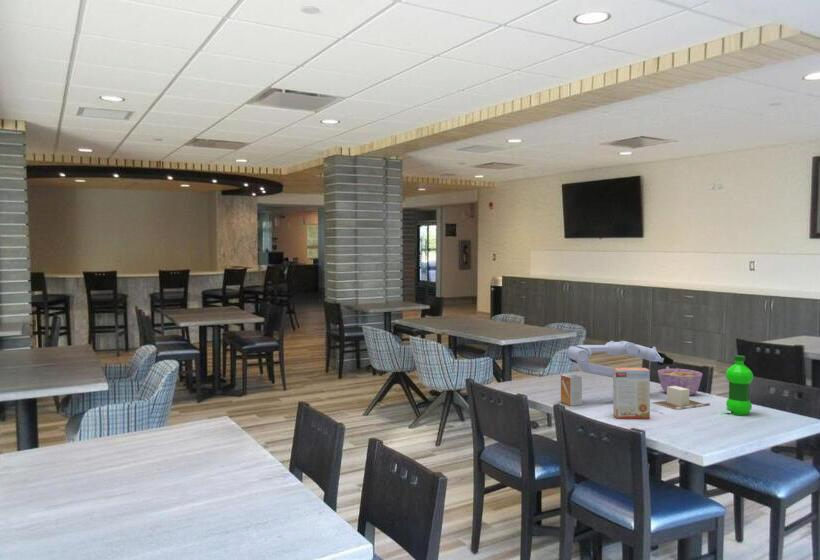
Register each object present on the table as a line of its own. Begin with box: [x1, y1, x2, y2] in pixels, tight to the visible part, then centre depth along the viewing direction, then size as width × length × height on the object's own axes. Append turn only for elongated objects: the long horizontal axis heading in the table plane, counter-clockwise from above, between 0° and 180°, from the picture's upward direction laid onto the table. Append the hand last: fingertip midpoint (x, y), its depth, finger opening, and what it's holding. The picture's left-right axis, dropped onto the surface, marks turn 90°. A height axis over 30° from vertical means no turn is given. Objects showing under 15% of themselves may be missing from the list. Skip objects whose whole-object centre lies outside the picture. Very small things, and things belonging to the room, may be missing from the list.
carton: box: [666, 386, 690, 406], centre depth 280 cm, size 8×5×7 cm, turn 24°
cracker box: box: [612, 367, 651, 420], centre depth 263 cm, size 14×6×21 cm, turn 84°
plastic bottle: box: [725, 354, 754, 416], centre depth 267 cm, size 10×10×25 cm
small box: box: [560, 373, 583, 407], centre depth 287 cm, size 8×6×13 cm
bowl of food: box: [657, 368, 703, 397], centre depth 301 cm, size 20×20×12 cm
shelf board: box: [652, 399, 711, 411], centre depth 279 cm, size 20×15×2 cm
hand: (667, 359), depth 293 cm, fingers open, 7 cm apart
